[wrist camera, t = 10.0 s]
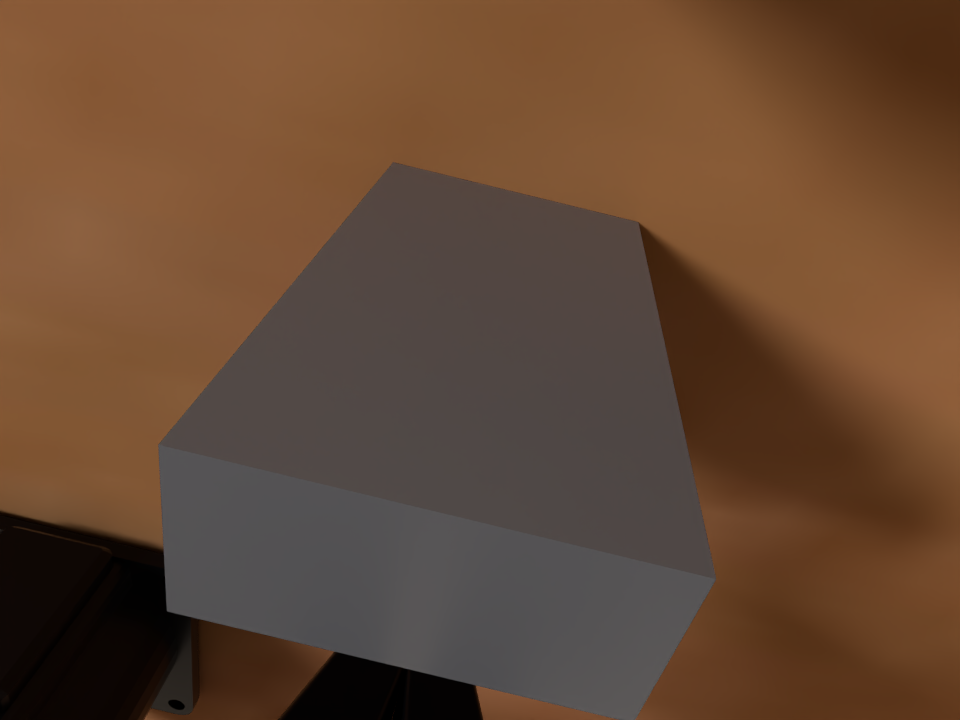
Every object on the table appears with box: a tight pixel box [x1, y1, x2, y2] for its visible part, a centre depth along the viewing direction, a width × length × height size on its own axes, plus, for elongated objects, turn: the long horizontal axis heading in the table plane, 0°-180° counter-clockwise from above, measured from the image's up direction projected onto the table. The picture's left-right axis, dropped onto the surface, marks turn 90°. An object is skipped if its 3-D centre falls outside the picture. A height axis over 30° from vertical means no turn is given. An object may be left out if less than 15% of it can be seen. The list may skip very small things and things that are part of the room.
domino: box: [158, 162, 716, 720], centre depth 9 cm, size 2×4×8 cm, turn 78°
